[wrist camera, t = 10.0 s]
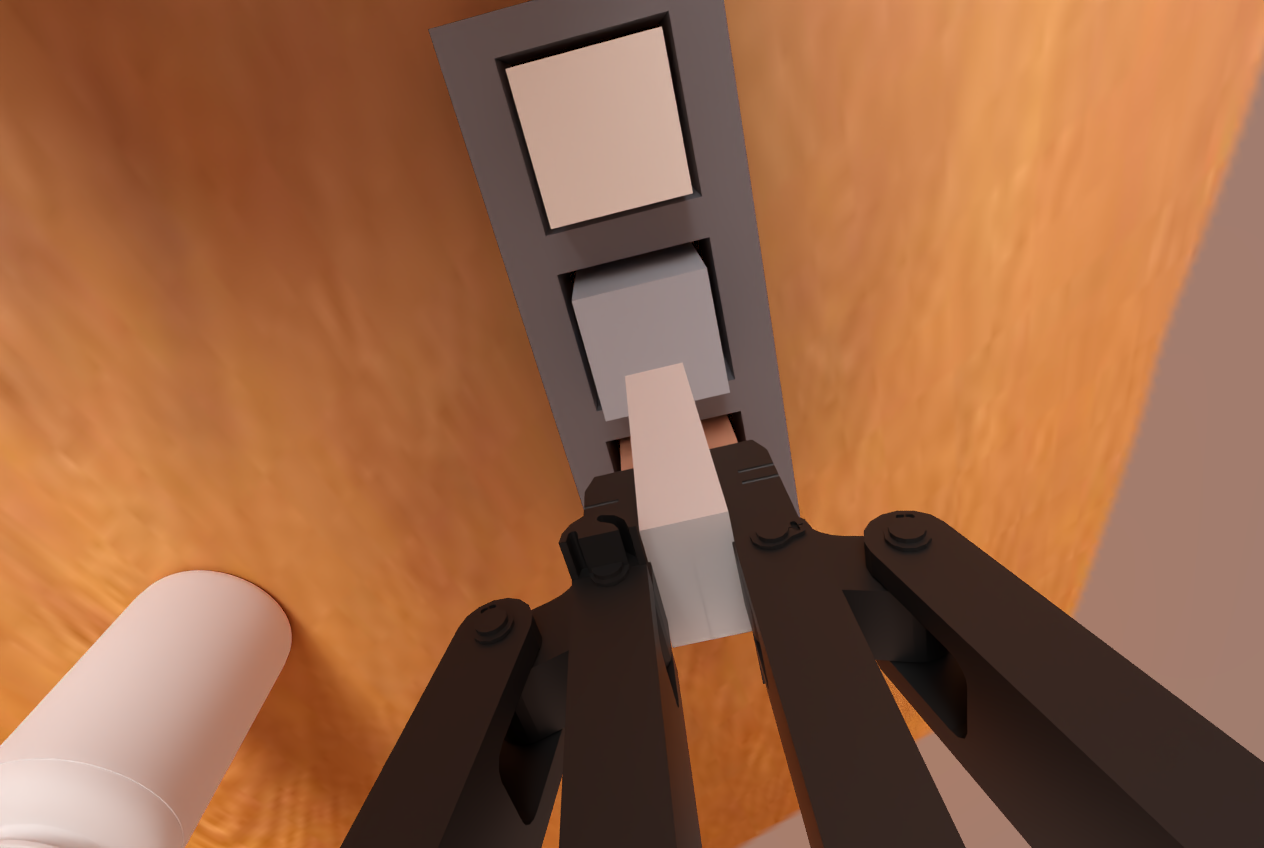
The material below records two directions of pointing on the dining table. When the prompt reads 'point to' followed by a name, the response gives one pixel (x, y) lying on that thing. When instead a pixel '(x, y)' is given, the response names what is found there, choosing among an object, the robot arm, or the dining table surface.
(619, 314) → the slate key
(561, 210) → the ivory key
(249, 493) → the dining table surface
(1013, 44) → the dining table surface
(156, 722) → the pill bottle
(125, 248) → the dining table surface
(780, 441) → the grey slotted block holder
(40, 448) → the dining table surface
